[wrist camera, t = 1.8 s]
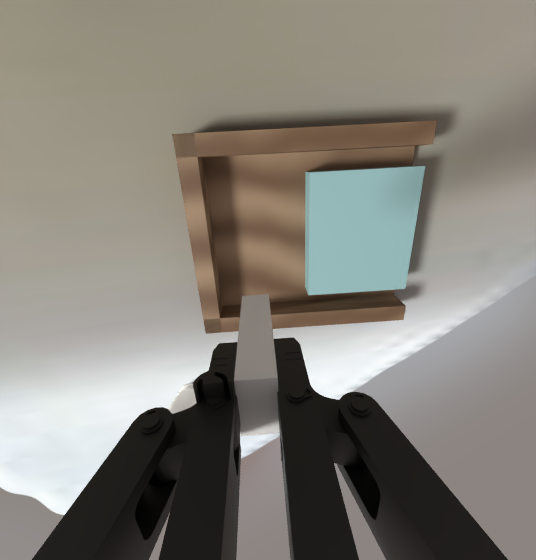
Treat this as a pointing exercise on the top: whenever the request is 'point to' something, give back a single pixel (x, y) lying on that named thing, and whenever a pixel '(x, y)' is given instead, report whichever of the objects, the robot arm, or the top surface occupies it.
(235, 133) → the walnut box
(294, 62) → the top surface
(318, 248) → the cover plate
